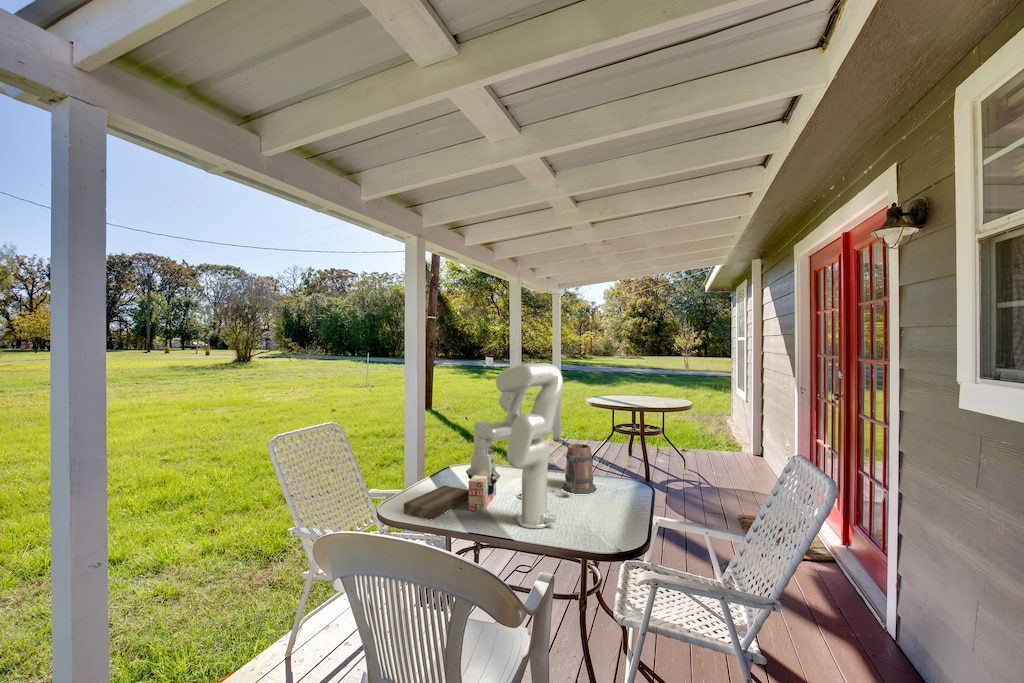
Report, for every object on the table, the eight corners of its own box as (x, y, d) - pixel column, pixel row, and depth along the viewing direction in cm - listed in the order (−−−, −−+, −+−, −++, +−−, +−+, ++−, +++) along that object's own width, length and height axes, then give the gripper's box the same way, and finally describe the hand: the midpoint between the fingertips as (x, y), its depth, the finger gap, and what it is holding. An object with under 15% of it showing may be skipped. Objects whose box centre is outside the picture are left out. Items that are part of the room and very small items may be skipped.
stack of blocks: (482, 493, 205) (482, 466, 205) (496, 494, 204) (496, 467, 204) (468, 510, 184) (468, 480, 184) (483, 512, 183) (483, 481, 183)
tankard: (567, 481, 223) (567, 440, 223) (601, 486, 215) (602, 444, 216) (550, 496, 202) (550, 450, 202) (587, 502, 194) (587, 455, 194)
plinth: (470, 499, 197) (470, 490, 197) (431, 520, 174) (431, 509, 174) (444, 494, 204) (444, 485, 204) (403, 513, 181) (403, 503, 181)
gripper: (505, 451, 192) (504, 493, 192) (470, 446, 200) (470, 486, 200) (495, 454, 185) (495, 498, 185) (460, 449, 194) (460, 491, 194)
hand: (482, 492), depth 193 cm, fingers closed on stack of blocks, 7 cm apart
